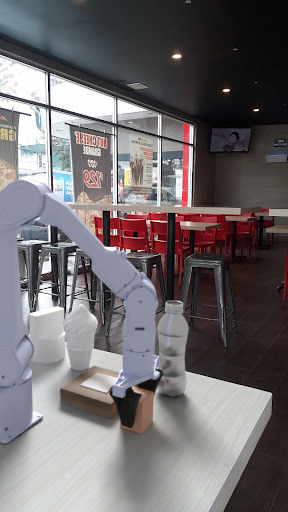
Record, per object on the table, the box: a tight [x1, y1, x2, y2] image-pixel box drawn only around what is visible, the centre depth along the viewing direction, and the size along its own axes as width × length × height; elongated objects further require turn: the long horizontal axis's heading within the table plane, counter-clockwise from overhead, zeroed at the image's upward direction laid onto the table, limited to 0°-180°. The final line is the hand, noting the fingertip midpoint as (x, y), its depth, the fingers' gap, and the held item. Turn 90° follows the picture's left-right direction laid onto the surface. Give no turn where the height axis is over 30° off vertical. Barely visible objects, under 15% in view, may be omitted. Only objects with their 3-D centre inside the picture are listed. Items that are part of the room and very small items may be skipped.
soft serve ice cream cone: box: [63, 303, 99, 372], centre depth 95 cm, size 8×8×16 cm
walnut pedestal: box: [59, 365, 138, 419], centre depth 83 cm, size 12×12×3 cm
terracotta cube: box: [119, 386, 155, 435], centre depth 74 cm, size 4×4×6 cm
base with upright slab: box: [28, 306, 66, 364], centre depth 101 cm, size 9×9×12 cm
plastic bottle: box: [156, 300, 189, 398], centre depth 84 cm, size 6×7×20 cm
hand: (136, 415), depth 74 cm, fingers open, 7 cm apart
